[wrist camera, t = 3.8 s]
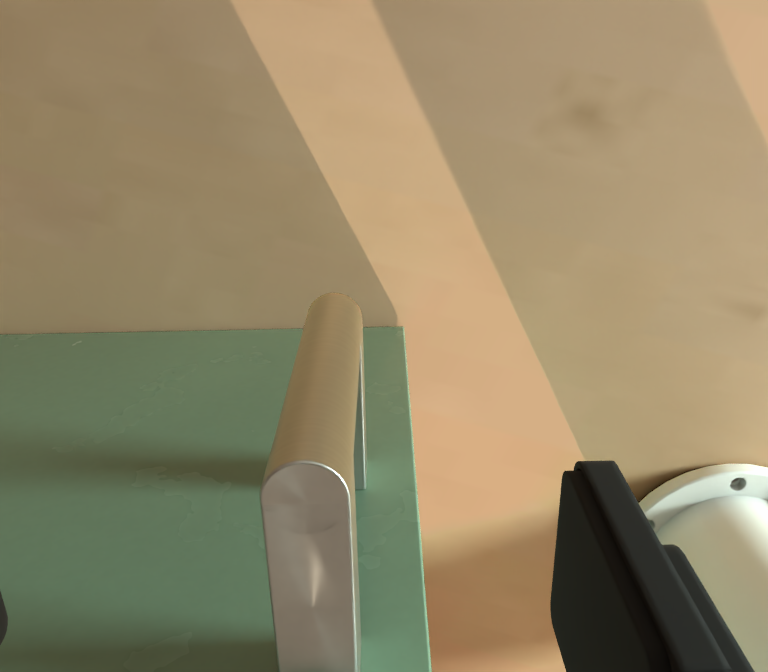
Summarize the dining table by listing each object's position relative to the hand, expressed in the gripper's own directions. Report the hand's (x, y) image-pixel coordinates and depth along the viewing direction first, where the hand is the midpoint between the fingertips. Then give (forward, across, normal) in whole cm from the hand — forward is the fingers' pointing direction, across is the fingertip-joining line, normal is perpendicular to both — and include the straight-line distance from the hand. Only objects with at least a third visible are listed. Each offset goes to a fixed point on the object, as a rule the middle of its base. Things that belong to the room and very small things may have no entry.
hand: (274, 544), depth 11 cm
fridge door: (+26, +9, +4) cm, 27 cm away
